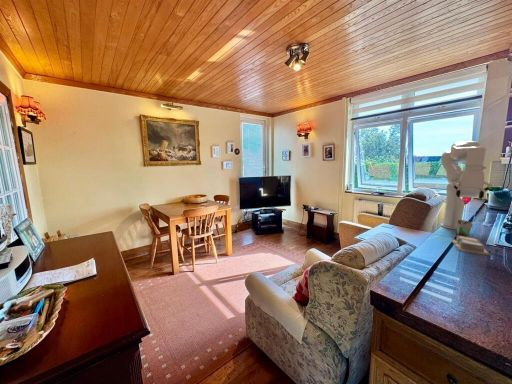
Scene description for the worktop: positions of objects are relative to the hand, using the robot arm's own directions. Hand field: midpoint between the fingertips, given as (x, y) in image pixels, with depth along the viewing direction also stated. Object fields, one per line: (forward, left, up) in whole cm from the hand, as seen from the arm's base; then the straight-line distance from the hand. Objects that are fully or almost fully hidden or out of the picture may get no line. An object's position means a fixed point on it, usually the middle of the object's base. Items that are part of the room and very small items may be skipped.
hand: (469, 197), depth 131 cm
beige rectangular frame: (+16, 0, -25) cm, 30 cm away
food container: (-1, +1, -26) cm, 26 cm away
